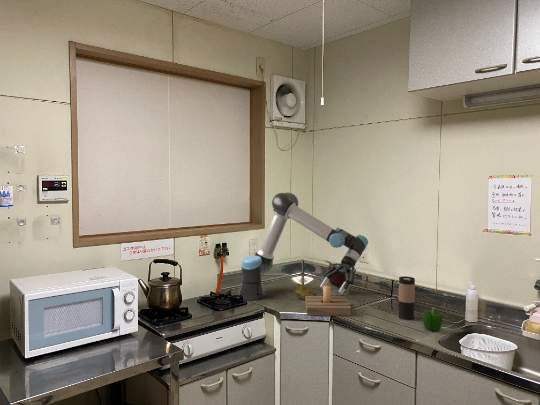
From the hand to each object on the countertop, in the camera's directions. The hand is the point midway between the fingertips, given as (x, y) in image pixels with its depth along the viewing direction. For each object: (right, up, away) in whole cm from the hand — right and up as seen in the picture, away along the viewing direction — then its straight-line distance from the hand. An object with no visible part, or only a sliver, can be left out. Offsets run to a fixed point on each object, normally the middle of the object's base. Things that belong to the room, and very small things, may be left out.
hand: (330, 290), depth 222 cm
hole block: (-2, -10, 0) cm, 10 cm away
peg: (-2, -10, 0) cm, 10 cm away
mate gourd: (+9, -9, +33) cm, 36 cm away
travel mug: (+35, -11, -15) cm, 40 cm away
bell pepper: (+42, -11, -32) cm, 54 cm away
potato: (-12, -9, +19) cm, 25 cm away
